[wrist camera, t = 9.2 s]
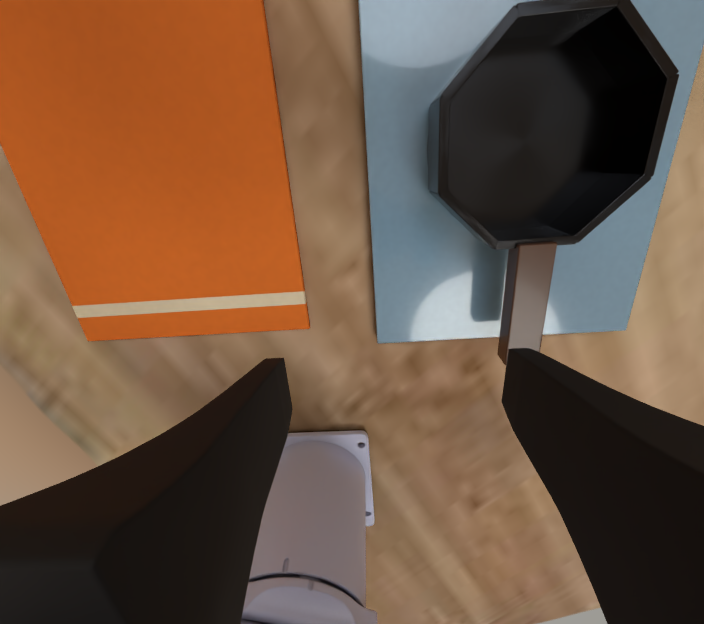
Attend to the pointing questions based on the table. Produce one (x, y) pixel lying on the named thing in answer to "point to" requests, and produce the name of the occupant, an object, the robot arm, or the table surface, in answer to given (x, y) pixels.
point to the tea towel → (154, 162)
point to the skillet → (548, 138)
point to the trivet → (445, 230)
